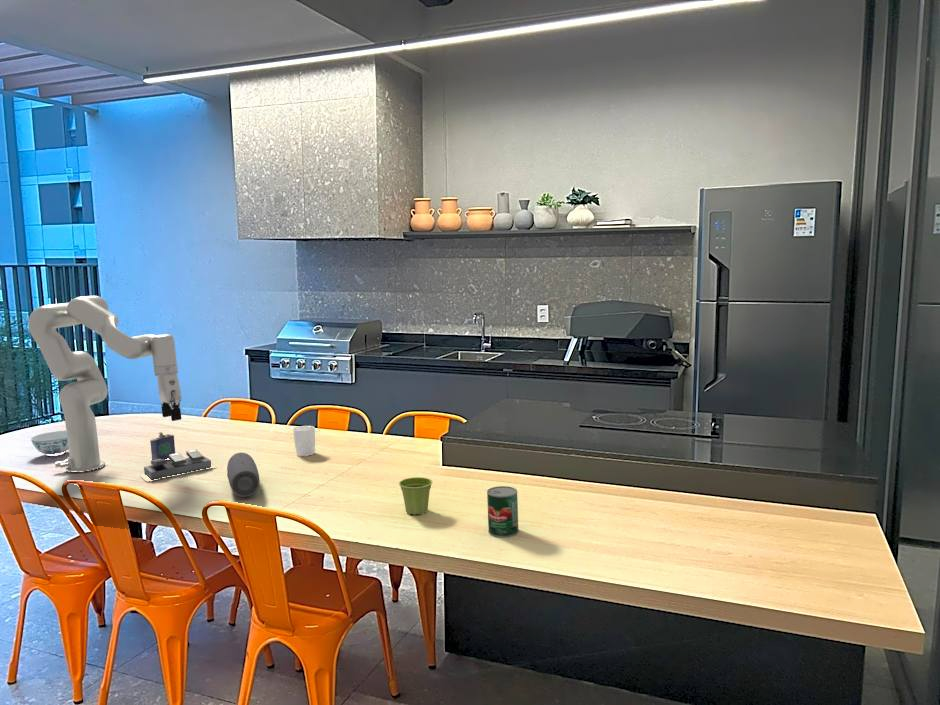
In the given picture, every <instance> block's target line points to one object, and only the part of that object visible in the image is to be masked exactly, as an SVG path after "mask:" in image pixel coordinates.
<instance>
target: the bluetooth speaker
mask: <svg viewBox="0 0 940 705" xmlns="http://www.w3.org/2000/svg"><path fill="white" fill-rule="evenodd" d="M226 466H227V467H226V469H227V471H226V476H227V479H228V483H229V487H230V489H231V491H232V492H233V493H234V494H235V495H237V497H240V498H246V497H250V496H253V495H254V494H255V493H257V491H258V489H259V487H260V474H259V470H258V467H257V464H256V462H255V460H254V459H253V457H252V456H251V455H250V454H248V453H247V452H237V453H234V454H233V455H232V456H231V457H230V458H229V459H228V461H227V465H226Z"/></svg>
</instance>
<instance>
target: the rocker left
mask: <svg viewBox="0 0 940 705" xmlns="http://www.w3.org/2000/svg"><path fill="white" fill-rule="evenodd" d="M168 462H169V461H168V460H165V459H158V460H153V461H152V460H151V461H150V464H151V465H156V466H157V465H162V464H167V463H168ZM151 465H150V466H151Z"/></svg>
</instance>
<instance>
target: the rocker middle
mask: <svg viewBox="0 0 940 705" xmlns="http://www.w3.org/2000/svg"><path fill="white" fill-rule="evenodd" d="M185 458H186V457H184V456H183V454H182V453H180V452H175V454H170V455H169V459H170V460H169V461H172V462H173V463H174V464H175V465H177V464H182V463H186V459H185Z"/></svg>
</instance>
